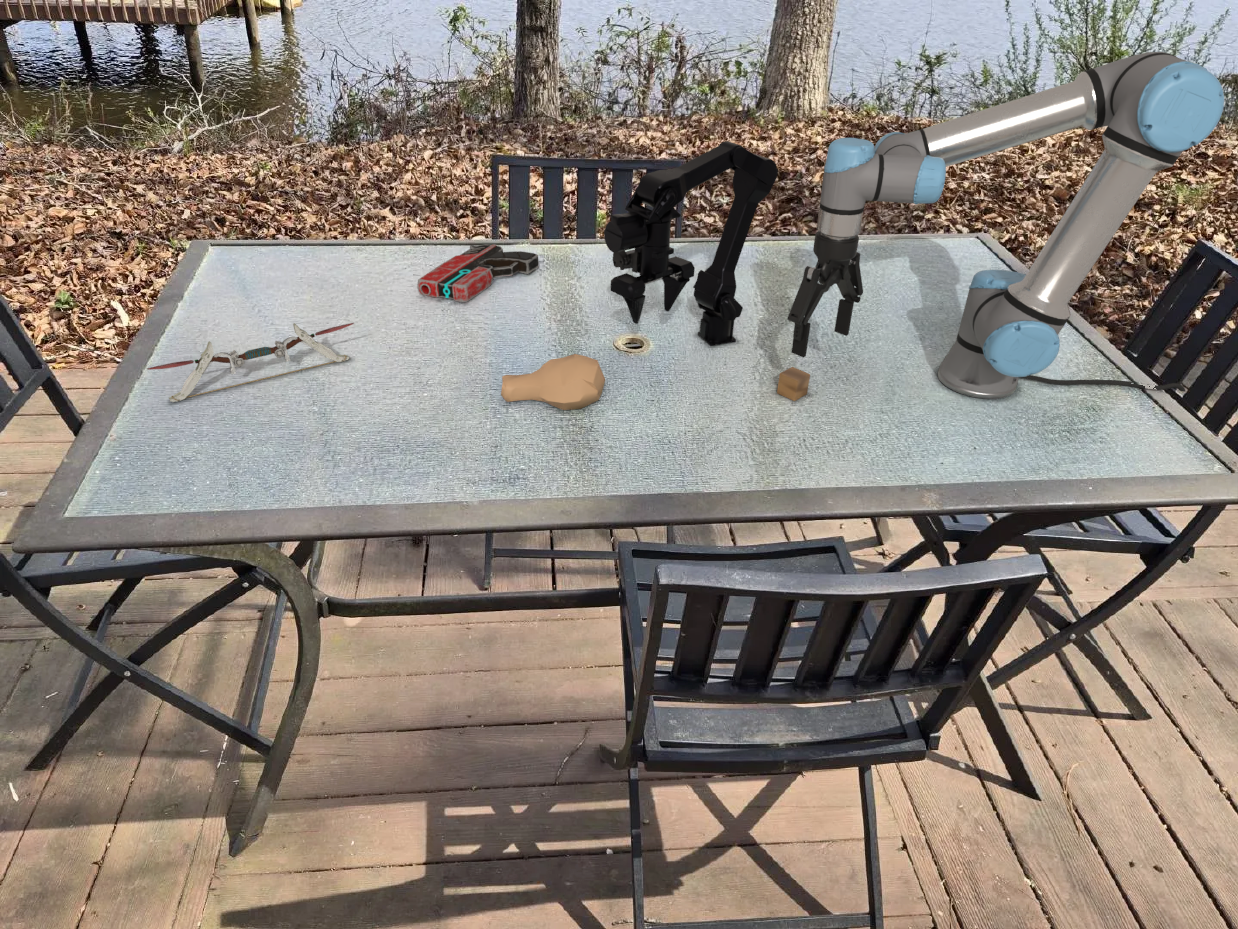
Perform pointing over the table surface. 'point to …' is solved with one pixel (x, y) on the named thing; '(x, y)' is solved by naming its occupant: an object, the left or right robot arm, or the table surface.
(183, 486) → the table surface
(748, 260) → the table surface
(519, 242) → the table surface
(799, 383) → the block
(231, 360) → the bow
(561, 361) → the squash
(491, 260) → the gun
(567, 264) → the table surface
